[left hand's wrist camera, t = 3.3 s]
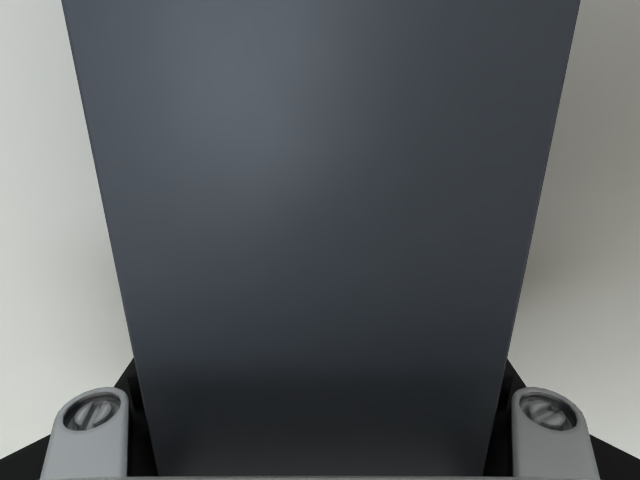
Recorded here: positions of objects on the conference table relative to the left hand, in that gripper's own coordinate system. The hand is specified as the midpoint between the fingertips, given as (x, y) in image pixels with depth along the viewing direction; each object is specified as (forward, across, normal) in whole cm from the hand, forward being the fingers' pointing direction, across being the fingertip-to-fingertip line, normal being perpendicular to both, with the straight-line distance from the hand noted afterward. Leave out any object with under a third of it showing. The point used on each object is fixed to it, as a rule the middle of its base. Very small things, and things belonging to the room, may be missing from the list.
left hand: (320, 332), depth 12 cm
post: (+2, 0, -31) cm, 31 cm away
